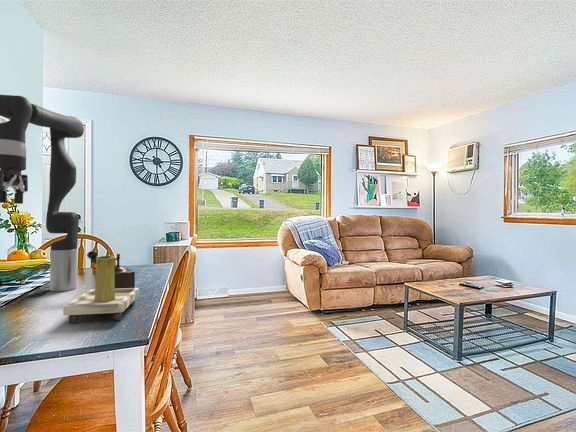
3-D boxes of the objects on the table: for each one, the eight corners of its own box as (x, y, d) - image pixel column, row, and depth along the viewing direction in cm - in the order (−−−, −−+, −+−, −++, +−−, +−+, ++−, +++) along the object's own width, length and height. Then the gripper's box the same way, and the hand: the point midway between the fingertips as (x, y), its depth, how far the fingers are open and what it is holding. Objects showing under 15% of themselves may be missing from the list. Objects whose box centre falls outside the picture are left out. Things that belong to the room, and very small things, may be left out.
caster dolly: (90, 305, 109) (90, 289, 109) (138, 303, 113) (138, 287, 112) (63, 325, 89) (63, 306, 89) (122, 322, 93) (122, 303, 93)
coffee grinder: (127, 288, 133) (127, 248, 133) (135, 293, 125) (136, 250, 125) (85, 294, 122) (85, 250, 122) (91, 300, 114) (92, 253, 114)
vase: (105, 303, 97) (105, 258, 97) (89, 301, 98) (89, 257, 98) (119, 298, 103) (120, 256, 103) (104, 296, 104) (104, 255, 104)
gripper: (10, 151, 96) (10, 202, 96) (36, 159, 110) (35, 204, 110) (-18, 150, 94) (-19, 202, 94) (12, 158, 108) (11, 203, 108)
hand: (10, 203), depth 102 cm, fingers open, 8 cm apart
